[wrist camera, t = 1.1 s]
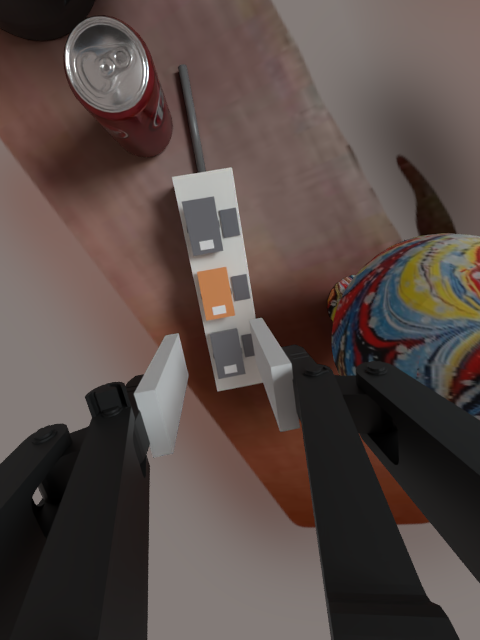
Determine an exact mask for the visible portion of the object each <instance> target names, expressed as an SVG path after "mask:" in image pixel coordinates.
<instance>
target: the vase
mask: <svg viewBox="0 0 480 640" xmlns="http://www.w3.org/2000/svg"><path fill="white" fill-rule="evenodd" d="M327 309H328V312H329V317H330V318H331V319H332V321H333V328H332V352H333V358H334V362H335V365H336V367H337V370H338V373H339V375H340V376H352V375H356V367H357V366H358V365H360V364H362V363H365V362H371V361H376V362H377V361H381V362H384V363H389V364H391V365H393V366H395V367H397V368H398V369H400V370H401V371H403V372H405V373H406V374H408V375H409V376H411V377H412V378H414V379H416V380H417V381H419V382H420V383H422V384H423V385H425V386H427V387H428V388H430V389H431V390H433V391H435V392H436V393H438V394H439V395H441V396H442V397H444V398H446V399H447V400H449V401H450V402H452V403H454V404H455V405H457V406H458V407H460V408H461V409H463V410H465V411H466V412H468V413H469V414H471V415H472V416H474V417H476V418H477V419H479V420H480V237H479V236H475V235H464V234H447V233H442V234H433V235H425V236H418V237H415V238H411V239H408V240H404V241H402V242H400V243H398V244H395V245H393V246H391V247H389V248H388V249H386V250H384V251H383V252H381V253H380V254H378V255H377V256H375V257H374V258H373V259H372V260H371V261H370V262H368V263H367V264H366V265H365V266H364V267H363V268H362V269H361V270H360V271H359V273H358V274H357V275H351V276H349V277H346V278H343V279H342V280H341V281H340V282H338V283H337V284H336V285H335V287H334V288H333V289H332V290H331V292H330V296H329V298H328V306H327Z"/></svg>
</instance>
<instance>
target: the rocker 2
mask: <svg viewBox="0 0 480 640" xmlns="http://www.w3.org/2000/svg"><path fill="white" fill-rule="evenodd" d="M210 338H211V343H212V348H213V357H214V359H215V364H216V369H217V374H218V379H222V378H227V377H232V376H237V375H242V374H246V373H245V368H244V362H243V357H242V354H243V353H242V348H241V346H240V340H239V335H238V329H237V328H234V329H228V330H223V331H218V332H212V333H210Z"/></svg>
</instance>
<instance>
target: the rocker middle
mask: <svg viewBox="0 0 480 640" xmlns="http://www.w3.org/2000/svg"><path fill="white" fill-rule="evenodd" d="M197 276H198V281H199V286H200V291H201V299H202V301H203V306H204V311H205V317H206V321H208V320H213V319H219V318H224V317H229V316H235V311H234V306H233V301H232V295H231V294H232V291H231V288H230V284H229V279H228V273H227V268H226V267H222V268H216V269H211V270H205V271H199V272H197Z"/></svg>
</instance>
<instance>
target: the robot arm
mask: <svg viewBox="0 0 480 640" xmlns="http://www.w3.org/2000/svg"><path fill="white" fill-rule="evenodd" d="M94 1H95V0H0V28H2V29H3V30H5V31H7V32H9V33H11V34H13V35H16V36H19V37H22V38H25V39H30V40H51V39H56V38H59V37H62V36H64V35H66V34H68V33H70V32H71V31H72V30H73V29H74V28H75V27H76V25H77V24H78V23H80V22H81V21H83V20H84V19H85V18H86V16H87V15H88V13H89V12H90V10H91V8H92V6H93V3H94ZM249 323H250V329H251V335H252V341H253V347H254V353H255V359H256V364H257V367H258V370H259V373H260V375H261V378H262V381H263V384H264V387H265V390H266V392H267V395H268V398H269V401H270V404H271V407H272V409H273V412H274V415H275V418H276V421H277V424H278V426H279V429H280V432H282V431H287V430H292V429H297V428H300V426H299V419H300V421H301V423H302V431H303V439H304V447H305V453H306V460H307V467H308V475H309V482H310V489H311V497H312V504H313V511H314V518H315V526H316V533H317V540H318V547H319V554H320V562H321V568H322V576H323V584H324V591H325V598H326V606H327V613H328V620H329V627H330V634H331V640H459V637H458V635H457V634H456V632H455V629H454V628H453V626H452V624H451V622H450V620H449V618H448V617H447V615H446V614H445V612H444V611H443V610H442V608H441V607H440V606H439V605H437V604H435V603H432V602H431V601H430V600H429V598H428V597H427V596H426V593H425V591H424V589H423V587H422V585H421V582H420V580H419V577H418V575H417V573H416V570H415V568H414V565H413V563H412V561H411V558H410V556H409V553H408V552H407V549H406V546H405V544H404V541H403V539H402V537H401V534H400V532H399V530H398V527H397V525H396V522H395V520H394V517H393V515H392V513H391V510H390V508H389V505H388V503H387V501H386V498H385V496H384V493H383V491H382V489H381V486H380V484H379V481H378V479H377V477H376V474H375V472H374V470H373V467H372V465H371V462H370V460H369V458H368V455H367V453H366V450H365V448H364V446H363V443H362V441H361V438H362V439H363V440H364V442H365V443H366V444H367V445H368V447H369V448H370V449H371V450H372V451H373V453H374V454H375V455H376V456H377V458H378V459H379V460H380V461H381V462H382V464H383V465H384V466H385V467H386V469H387V470H388V471H389V472H390V474H391V475H392V476H393V477H394V478H395V480H396V481H397V482H398V483H399V485H400V486H401V487H402V488H403V490H404V491H405V492H406V493H407V494H408V496H409V497H410V498H411V499H412V501H413V502H414V503H415V504H416V505H417V507H418V508H419V509H420V510H421V512H422V513H423V514H424V515H425V517H426V518H427V519H428V520H429V521H430V523H431V524H432V525H433V526H434V528H435V529H436V530H437V531H438V532H439V534H440V535H441V536H442V537H443V539H444V540H445V541H446V542H447V543H448V545H449V546H450V547H451V548H452V550H453V551H454V552H455V553H456V554H457V556H458V557H459V558H460V560H461V561H462V562H463V563H464V564H465V566H466V567H467V568H468V569H469V570H470V572H471V573H472V574H473V575H474V577H475V578H476V579H477V580H478V581H479V583H480V420H479V419H477V418H476V417H474V416H472V415H471V414H469V413H468V412H466V411H465V410H463V409H461V408H460V407H458V406H457V405H455V404H454V403H452V402H450V401H449V400H447V399H446V398H444V397H442V396H441V395H439V394H438V393H436V392H435V391H433V390H431V389H430V388H428V387H427V386H425V385H423V384H422V383H420V382H419V381H417V380H416V379H414V378H412V377H411V376H409V375H408V374H406V373H405V372H403V371H401V370H400V369H398V368H397V367H395V366H393V365H391V364H389V363H384V362H381V361H377V362H376V361H371V362H365V363H362V364H360V365H358V366H357V367H356V375H352V376H338V375H334V374H333V371H332V370H331V369H330V367H327V366H325V365H320V364H317V363H316V362H315V361H314V360H313V359H312V358H311V356H310V355H309V354H308V353H307V352H306V351H305V350H304V348H303V347H300V346H298V345H291V346H285V347H281V346H280V345H279V343H278V342H277V340H276V339H275V337H274V336H273V334H272V333H271V331H270V330H269V328H268V326H267V325H266V323H265V322H264V320H263V319H262V318H257V319H252V320H249ZM188 377H189V375H188V371H187V367H186V362H185V358H184V354H183V350H182V346H181V341H180V337H179V333H177V334H171V335H166V336H165V337H164V339H163V341H162V343H161V345H160V346H159V348H158V350H157V352H156V354H155V356H154V358H153V359H152V361H151V363H150V365H149V367H148V368H147V370H146V372H145V374H143V375H138V376H135V377H134V378H132V379H131V380H130V381H129V382H128V383H127V384H126V386H125V384H124V383H122V382H112V383H108V384H105V385H102V386H100V387H97V388H95V389H93V390H92V391H91V392H89V393H88V394H87V395H86V396H85V399H86V401H87V404H88V407H89V410H90V413H91V415H92V420H91V422H90V425H89V426H88V427H86V428H83V429H81V430H78V431H75V432H72V433H69V431H68V428H67V425H65V424H54V425H51V426H50V425H49V426H46V427H44V428H41V429H39V430H38V431H37V432H36V433H33V434H32V435H30V436H29V437H28V438H27V439H26V440H24V441H23V442H22V443H21V444H20V445H19V446H18V447H17V448H16V449H15V450H14V451H13V452H12V453H11V454H10V455H9V456H8V457H7V458H6V459H5V460H4V461H3V462H2V463H1V464H0V640H147V620H148V612H147V611H148V548H149V480H150V478H149V477H150V465H149V462H148V458H147V455H146V454H147V451H148V448H149V446H150V449H151V452H152V455H153V458H154V457H159V456H163V455H169V454H173V452H174V447H175V442H176V437H177V432H178V427H179V421H180V417H181V412H182V407H183V402H184V397H185V392H186V387H187V382H188ZM298 417H299V418H298ZM358 433H360V436H361V438H360V436H359V434H358ZM37 487H38V488H39V491H40V493H41V495H42V497H43V498H42V500H41V501H40V503H39V504H38V505H36V504H35V503H34V501H33V499H32V496H33V494H34V492H35V490H36V489H37Z"/></svg>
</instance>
